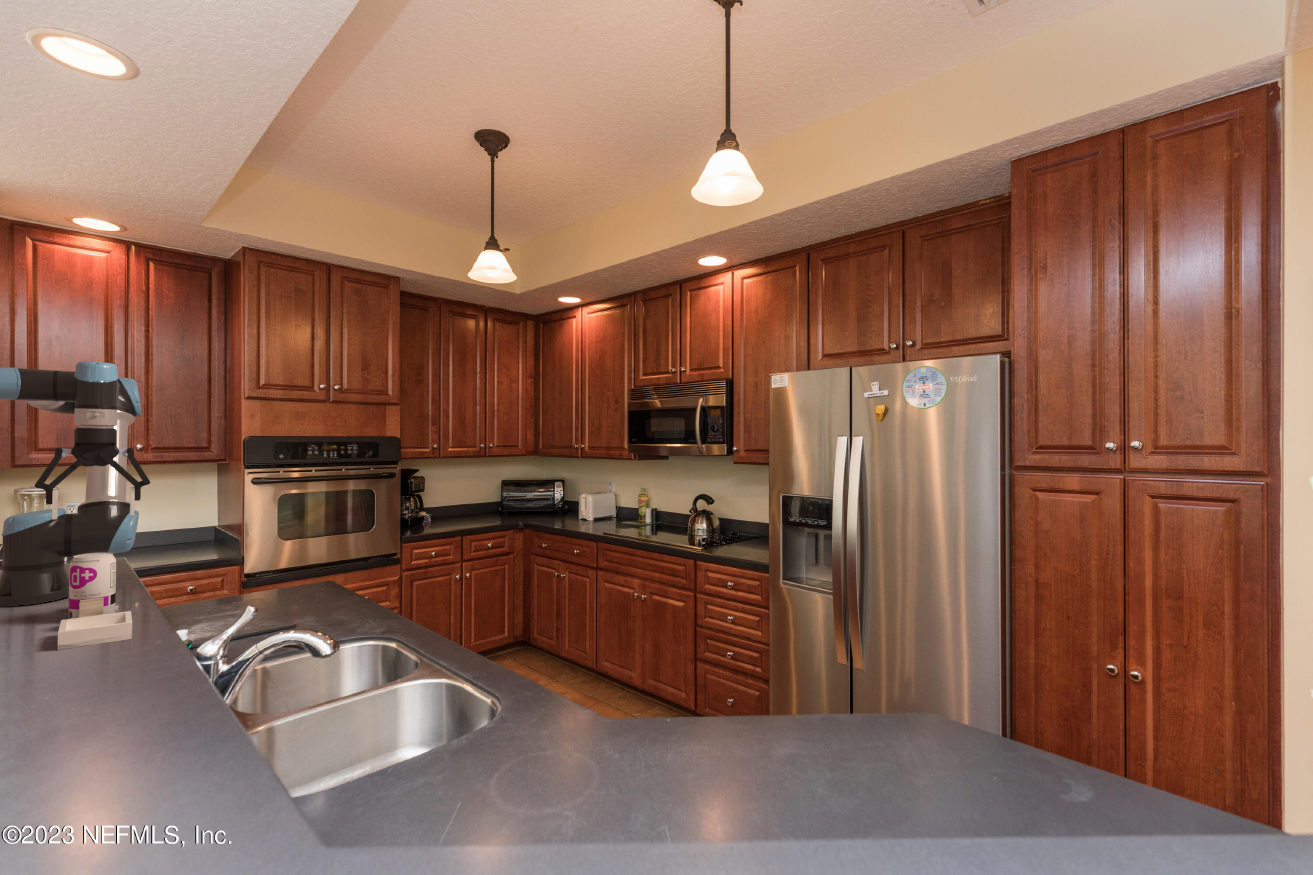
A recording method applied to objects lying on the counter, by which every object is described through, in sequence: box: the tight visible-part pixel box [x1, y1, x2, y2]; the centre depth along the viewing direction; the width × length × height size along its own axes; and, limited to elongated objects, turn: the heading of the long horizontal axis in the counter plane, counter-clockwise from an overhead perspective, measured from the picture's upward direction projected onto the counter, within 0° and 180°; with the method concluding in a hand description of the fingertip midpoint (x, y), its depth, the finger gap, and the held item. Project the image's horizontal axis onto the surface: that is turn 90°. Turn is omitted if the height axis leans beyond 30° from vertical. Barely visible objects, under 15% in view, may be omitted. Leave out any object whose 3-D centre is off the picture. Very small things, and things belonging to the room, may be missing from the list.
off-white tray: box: [57, 610, 133, 651], centre depth 134 cm, size 12×12×4 cm
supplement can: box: [68, 552, 117, 619], centre depth 148 cm, size 8×8×15 cm
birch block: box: [79, 598, 104, 618], centre depth 141 cm, size 4×4×6 cm
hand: (94, 516), depth 147 cm, fingers open, 13 cm apart
